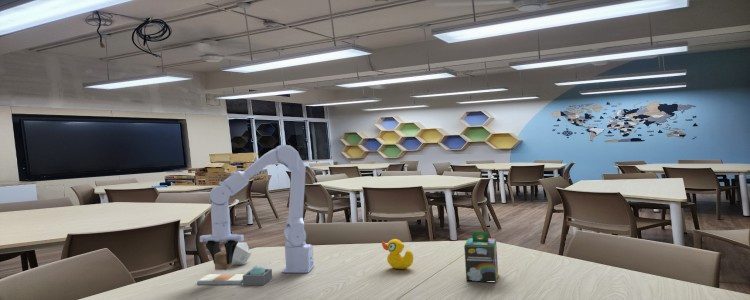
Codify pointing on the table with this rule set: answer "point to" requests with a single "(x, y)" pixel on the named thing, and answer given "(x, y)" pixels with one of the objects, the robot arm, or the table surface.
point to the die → (241, 254)
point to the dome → (257, 270)
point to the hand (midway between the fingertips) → (223, 263)
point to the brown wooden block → (221, 261)
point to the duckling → (394, 256)
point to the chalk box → (481, 258)
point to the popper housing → (257, 278)
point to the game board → (221, 279)
